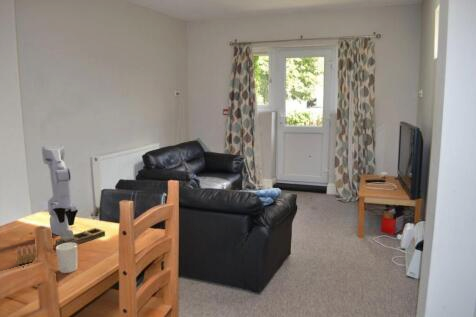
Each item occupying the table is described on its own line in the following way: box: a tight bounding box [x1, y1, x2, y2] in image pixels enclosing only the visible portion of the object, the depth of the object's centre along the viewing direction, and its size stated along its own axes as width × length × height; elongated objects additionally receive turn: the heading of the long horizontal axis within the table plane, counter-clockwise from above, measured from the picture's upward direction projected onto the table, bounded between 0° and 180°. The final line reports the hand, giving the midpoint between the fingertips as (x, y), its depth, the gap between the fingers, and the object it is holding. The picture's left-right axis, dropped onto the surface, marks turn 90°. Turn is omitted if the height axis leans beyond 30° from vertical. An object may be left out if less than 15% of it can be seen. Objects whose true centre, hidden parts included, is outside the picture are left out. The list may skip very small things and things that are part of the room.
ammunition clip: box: [17, 243, 37, 266], centre depth 160 cm, size 11×2×12 cm, turn 117°
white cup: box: [55, 243, 78, 274], centre depth 163 cm, size 8×8×10 cm
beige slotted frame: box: [55, 227, 106, 246], centre depth 196 cm, size 8×21×2 cm, turn 141°
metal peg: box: [59, 230, 74, 243], centre depth 190 cm, size 4×4×6 cm
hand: (66, 223), depth 188 cm, fingers open, 7 cm apart
